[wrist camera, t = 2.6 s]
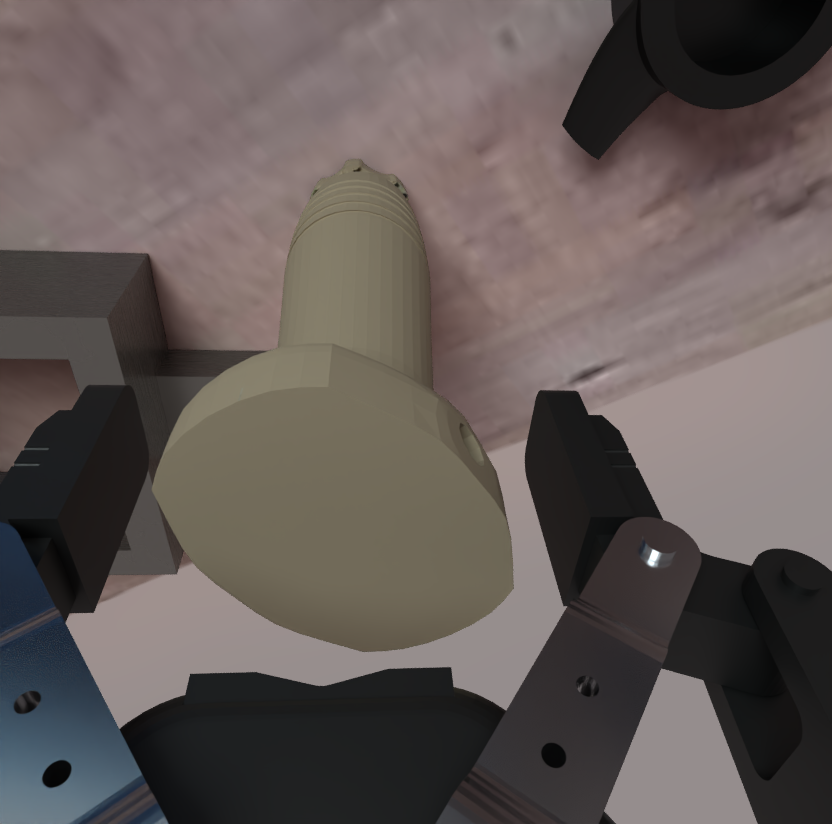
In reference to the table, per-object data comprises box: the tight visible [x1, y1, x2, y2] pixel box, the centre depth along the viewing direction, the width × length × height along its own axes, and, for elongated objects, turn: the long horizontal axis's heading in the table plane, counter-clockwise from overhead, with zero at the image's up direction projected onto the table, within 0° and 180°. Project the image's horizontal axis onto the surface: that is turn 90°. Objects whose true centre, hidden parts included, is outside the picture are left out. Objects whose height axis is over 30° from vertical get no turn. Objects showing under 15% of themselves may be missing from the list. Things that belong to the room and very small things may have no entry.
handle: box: [151, 159, 514, 652], centre depth 17 cm, size 5×6×15 cm
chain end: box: [0, 250, 267, 575], centre depth 25 cm, size 14×12×4 cm
